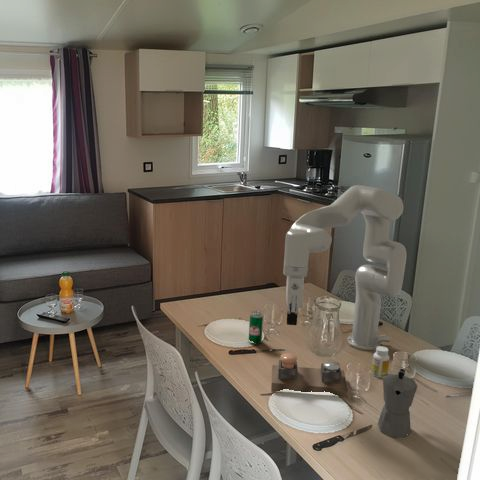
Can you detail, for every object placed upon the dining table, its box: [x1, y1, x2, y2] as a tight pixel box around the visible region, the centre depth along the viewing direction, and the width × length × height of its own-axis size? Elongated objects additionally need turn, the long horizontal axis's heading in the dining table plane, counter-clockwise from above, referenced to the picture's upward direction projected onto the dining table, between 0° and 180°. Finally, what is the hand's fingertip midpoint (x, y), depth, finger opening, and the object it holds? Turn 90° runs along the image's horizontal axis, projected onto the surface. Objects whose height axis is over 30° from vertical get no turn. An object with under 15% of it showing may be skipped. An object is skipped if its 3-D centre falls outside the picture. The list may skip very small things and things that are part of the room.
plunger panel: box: [270, 359, 349, 398], centre depth 175 cm, size 24×12×6 cm, turn 86°
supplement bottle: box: [371, 345, 390, 379], centre depth 184 cm, size 5×5×10 cm
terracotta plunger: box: [280, 352, 298, 369], centre depth 175 cm, size 5×5×5 cm
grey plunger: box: [323, 360, 341, 372], centre depth 174 cm, size 5×5×5 cm
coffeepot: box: [377, 368, 418, 438], centre depth 153 cm, size 15×9×18 cm, turn 158°
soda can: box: [248, 310, 264, 345], centre depth 204 cm, size 5×5×12 cm
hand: (291, 323), depth 171 cm, fingers closed
